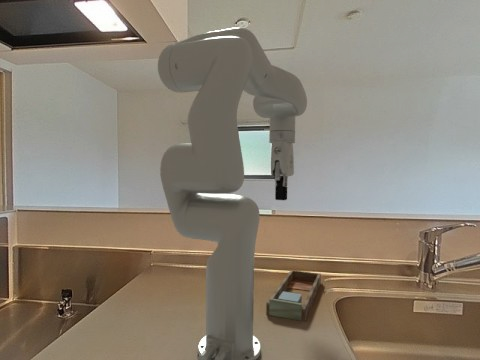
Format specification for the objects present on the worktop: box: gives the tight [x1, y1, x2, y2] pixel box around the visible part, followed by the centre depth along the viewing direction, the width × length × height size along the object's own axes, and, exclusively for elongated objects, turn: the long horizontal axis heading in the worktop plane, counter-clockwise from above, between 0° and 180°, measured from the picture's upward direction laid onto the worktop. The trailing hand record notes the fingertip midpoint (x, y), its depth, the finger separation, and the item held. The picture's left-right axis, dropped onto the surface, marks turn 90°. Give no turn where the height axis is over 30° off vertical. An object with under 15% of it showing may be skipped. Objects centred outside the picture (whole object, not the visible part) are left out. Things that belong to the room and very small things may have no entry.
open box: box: [265, 269, 322, 322], centre depth 94 cm, size 28×10×4 cm, turn 158°
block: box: [278, 291, 303, 304], centre depth 85 cm, size 5×5×4 cm
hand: (281, 199), depth 98 cm, fingers closed
